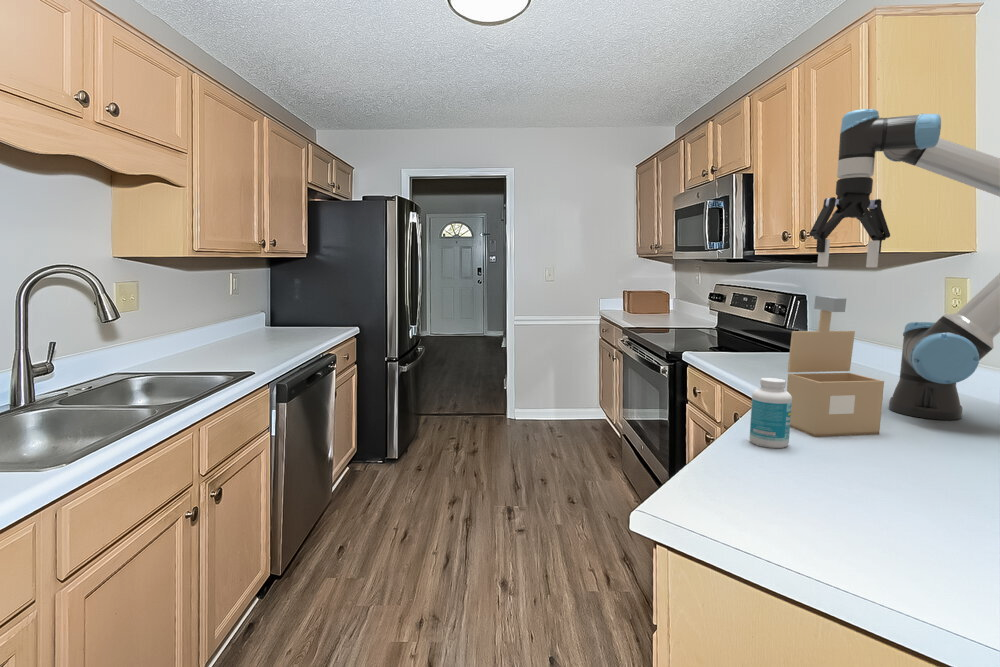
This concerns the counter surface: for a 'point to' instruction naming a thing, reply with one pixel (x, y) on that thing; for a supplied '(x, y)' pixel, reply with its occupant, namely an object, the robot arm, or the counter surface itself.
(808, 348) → the flap
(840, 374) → the carton
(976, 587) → the counter surface
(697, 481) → the counter surface
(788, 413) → the pill bottle
